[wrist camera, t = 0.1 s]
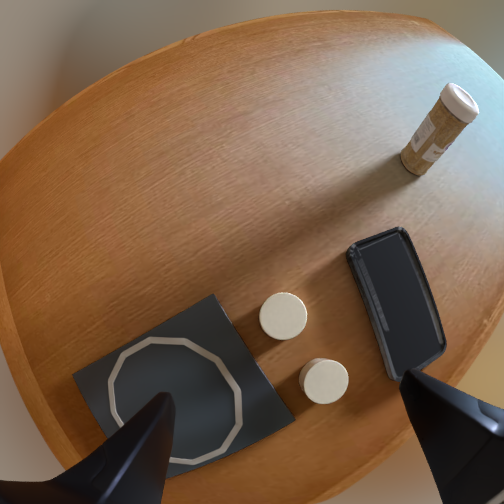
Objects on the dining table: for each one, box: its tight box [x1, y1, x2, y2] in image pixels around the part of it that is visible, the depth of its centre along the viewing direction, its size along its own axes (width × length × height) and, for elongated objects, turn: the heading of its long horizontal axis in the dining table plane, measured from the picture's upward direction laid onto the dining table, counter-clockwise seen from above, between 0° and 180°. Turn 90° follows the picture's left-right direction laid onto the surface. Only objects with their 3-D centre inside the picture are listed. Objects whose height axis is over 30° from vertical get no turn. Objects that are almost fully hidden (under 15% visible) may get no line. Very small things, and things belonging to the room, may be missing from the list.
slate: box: [72, 294, 296, 479], centre depth 21 cm, size 14×18×1 cm
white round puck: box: [299, 358, 348, 404], centre depth 21 cm, size 4×4×2 cm
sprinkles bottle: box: [401, 83, 479, 175], centre depth 23 cm, size 5×5×14 cm
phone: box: [346, 227, 447, 382], centre depth 24 cm, size 8×1×15 cm
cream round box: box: [258, 293, 307, 340], centre depth 23 cm, size 4×4×2 cm
